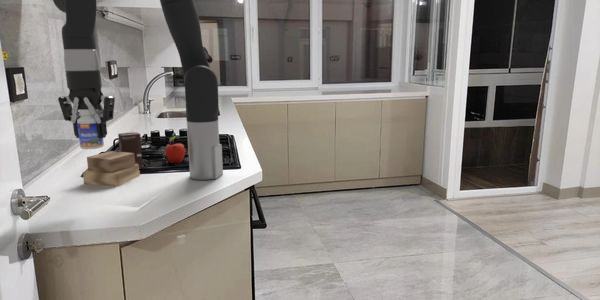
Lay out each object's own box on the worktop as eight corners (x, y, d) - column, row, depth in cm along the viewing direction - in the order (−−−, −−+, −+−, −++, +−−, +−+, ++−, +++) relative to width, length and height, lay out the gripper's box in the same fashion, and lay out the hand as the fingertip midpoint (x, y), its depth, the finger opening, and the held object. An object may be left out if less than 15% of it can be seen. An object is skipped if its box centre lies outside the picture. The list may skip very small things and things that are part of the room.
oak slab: (140, 176, 129) (138, 164, 128) (119, 187, 118) (118, 173, 117) (107, 175, 131) (106, 163, 130) (84, 185, 120) (82, 172, 119)
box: (123, 173, 131) (120, 135, 129) (121, 170, 135) (117, 133, 133) (143, 170, 135) (140, 133, 132) (140, 167, 138) (137, 131, 136)
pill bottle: (80, 150, 102) (75, 110, 99) (80, 146, 106) (75, 108, 104) (104, 148, 104) (100, 109, 102) (103, 144, 109) (99, 107, 107)
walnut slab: (135, 166, 126) (134, 153, 125) (111, 173, 118) (110, 159, 117) (112, 163, 129) (111, 150, 128) (88, 170, 121) (86, 157, 120)
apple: (163, 162, 145) (160, 134, 143) (182, 159, 149) (180, 132, 147) (170, 166, 139) (168, 137, 137) (190, 163, 143) (188, 135, 141)
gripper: (119, 68, 104) (125, 135, 107) (66, 68, 106) (75, 134, 109) (100, 69, 96) (108, 141, 100) (44, 69, 98) (54, 140, 102)
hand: (91, 137), depth 105 cm, fingers closed on pill bottle, 5 cm apart
